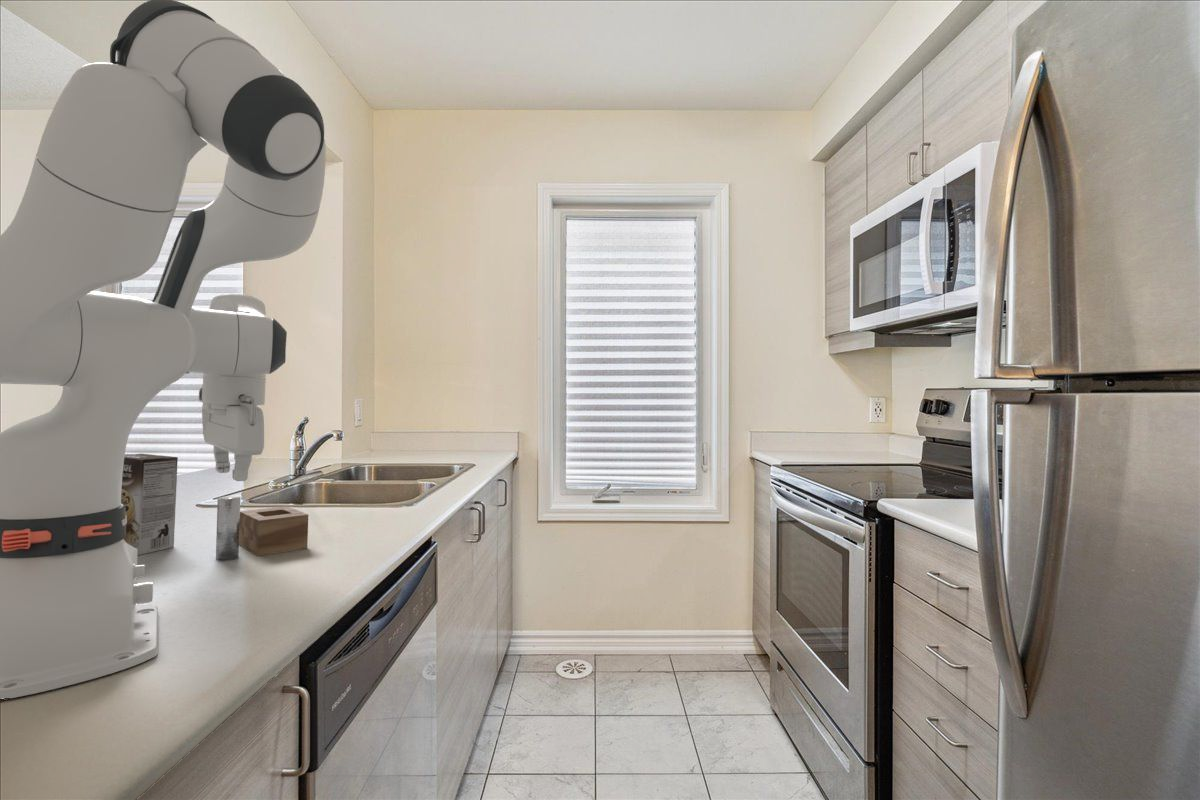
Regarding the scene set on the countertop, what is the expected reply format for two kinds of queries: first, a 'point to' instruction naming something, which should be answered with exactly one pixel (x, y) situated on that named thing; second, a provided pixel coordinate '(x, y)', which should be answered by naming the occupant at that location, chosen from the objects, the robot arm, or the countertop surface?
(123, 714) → the countertop surface
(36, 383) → the robot arm
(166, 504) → the coffee box
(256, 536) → the walnut block
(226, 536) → the steel pin
